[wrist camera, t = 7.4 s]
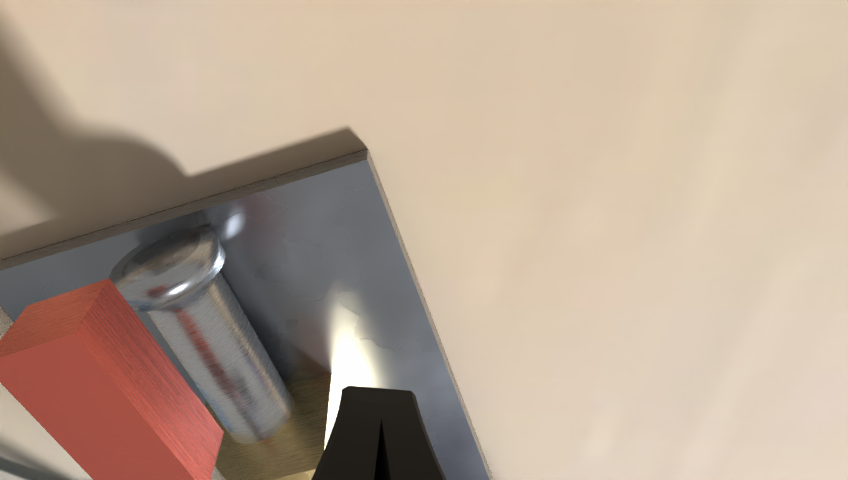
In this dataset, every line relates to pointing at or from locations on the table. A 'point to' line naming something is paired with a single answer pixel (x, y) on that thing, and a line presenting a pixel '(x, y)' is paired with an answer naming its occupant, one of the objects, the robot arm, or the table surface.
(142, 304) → the grey machine base
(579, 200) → the table surface
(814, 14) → the table surface
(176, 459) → the lever
